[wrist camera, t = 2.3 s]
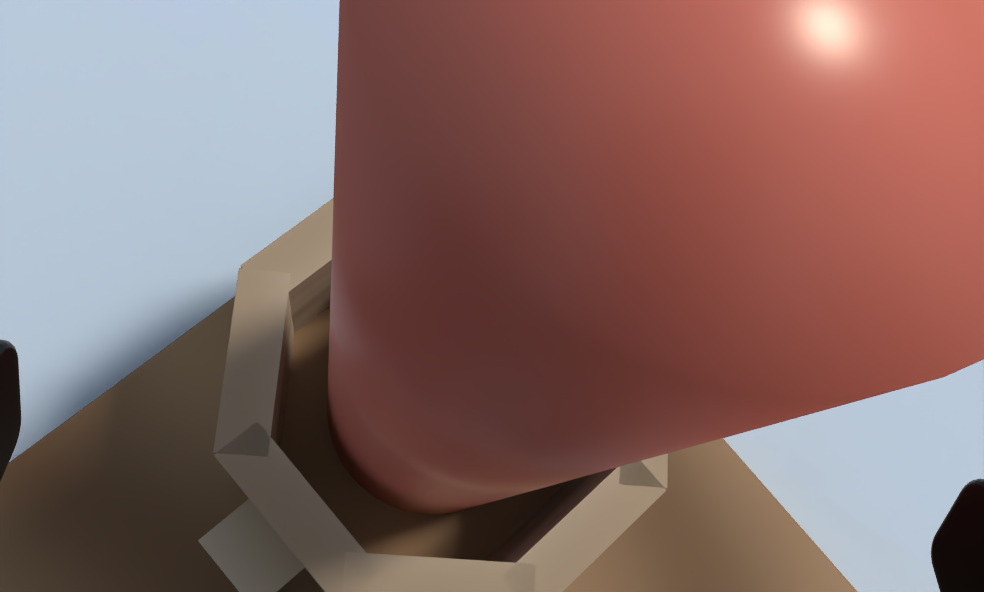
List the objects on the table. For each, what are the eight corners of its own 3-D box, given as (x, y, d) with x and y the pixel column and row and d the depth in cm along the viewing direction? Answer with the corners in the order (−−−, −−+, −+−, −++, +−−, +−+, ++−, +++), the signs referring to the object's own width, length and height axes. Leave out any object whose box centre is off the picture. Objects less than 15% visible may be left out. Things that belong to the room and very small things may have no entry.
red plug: (421, 560, 17) (783, 605, 4) (282, 392, 17) (147, -129, 4) (578, 419, 18) (1281, 62, 5) (444, 264, 18) (760, -468, 5)
